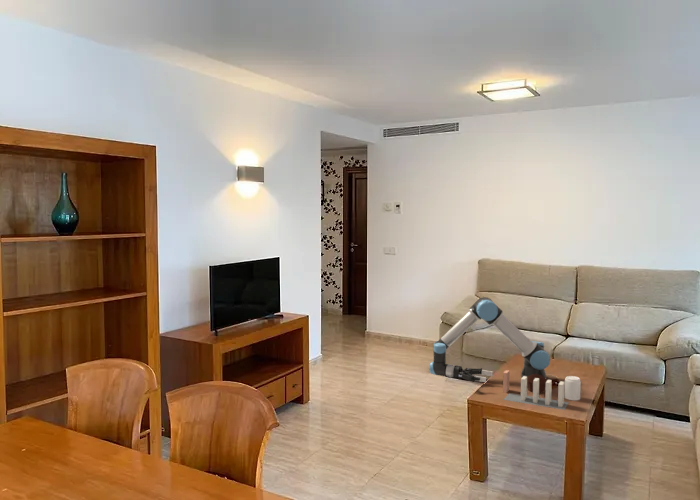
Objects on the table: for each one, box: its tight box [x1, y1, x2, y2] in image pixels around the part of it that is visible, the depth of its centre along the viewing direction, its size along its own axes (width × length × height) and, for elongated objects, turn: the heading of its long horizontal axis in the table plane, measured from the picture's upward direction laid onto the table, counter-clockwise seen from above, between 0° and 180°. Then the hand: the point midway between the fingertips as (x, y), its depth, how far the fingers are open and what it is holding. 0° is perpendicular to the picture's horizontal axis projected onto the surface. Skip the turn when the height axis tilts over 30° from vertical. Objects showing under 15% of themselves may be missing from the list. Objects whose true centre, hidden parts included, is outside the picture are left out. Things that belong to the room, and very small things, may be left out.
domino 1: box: [502, 369, 510, 394], centre depth 317 cm, size 2×6×12 cm, turn 150°
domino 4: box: [544, 379, 553, 405], centre depth 297 cm, size 2×6×12 cm, turn 150°
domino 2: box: [520, 376, 528, 401], centre depth 303 cm, size 2×6×12 cm, turn 150°
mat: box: [503, 392, 570, 411], centre depth 300 cm, size 13×32×1 cm, turn 60°
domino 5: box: [557, 380, 565, 407], centre depth 293 cm, size 2×6×12 cm, turn 150°
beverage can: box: [564, 375, 582, 401], centre depth 305 cm, size 8×8×12 cm
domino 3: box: [532, 378, 540, 403], centre depth 300 cm, size 2×6×12 cm, turn 150°
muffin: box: [527, 374, 548, 394], centre depth 317 cm, size 12×11×10 cm
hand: (489, 376), depth 322 cm, fingers open, 13 cm apart
